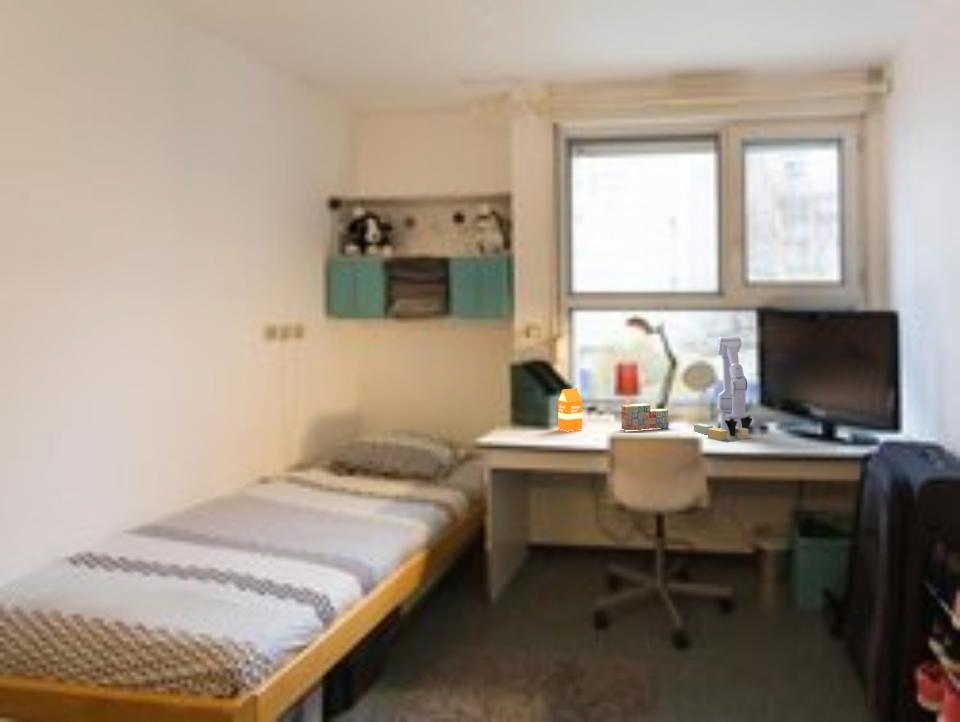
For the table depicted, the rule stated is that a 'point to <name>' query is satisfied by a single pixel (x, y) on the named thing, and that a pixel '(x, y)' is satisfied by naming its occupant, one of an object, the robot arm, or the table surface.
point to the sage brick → (702, 428)
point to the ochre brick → (717, 434)
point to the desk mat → (731, 439)
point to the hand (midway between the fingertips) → (738, 434)
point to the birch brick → (741, 433)
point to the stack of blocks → (643, 417)
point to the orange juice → (570, 410)
